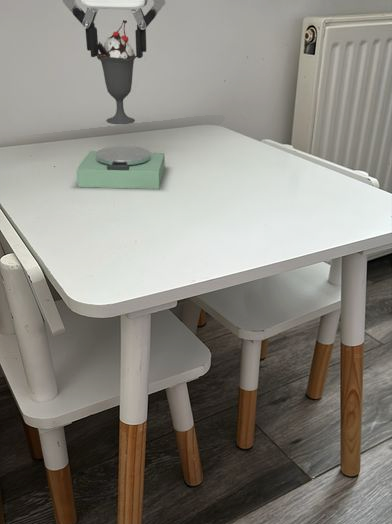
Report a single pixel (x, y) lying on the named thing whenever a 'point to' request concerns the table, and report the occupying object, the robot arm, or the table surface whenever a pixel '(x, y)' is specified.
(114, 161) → the scale pan
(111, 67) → the sundae
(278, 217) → the table surface
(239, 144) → the table surface
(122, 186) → the scale
